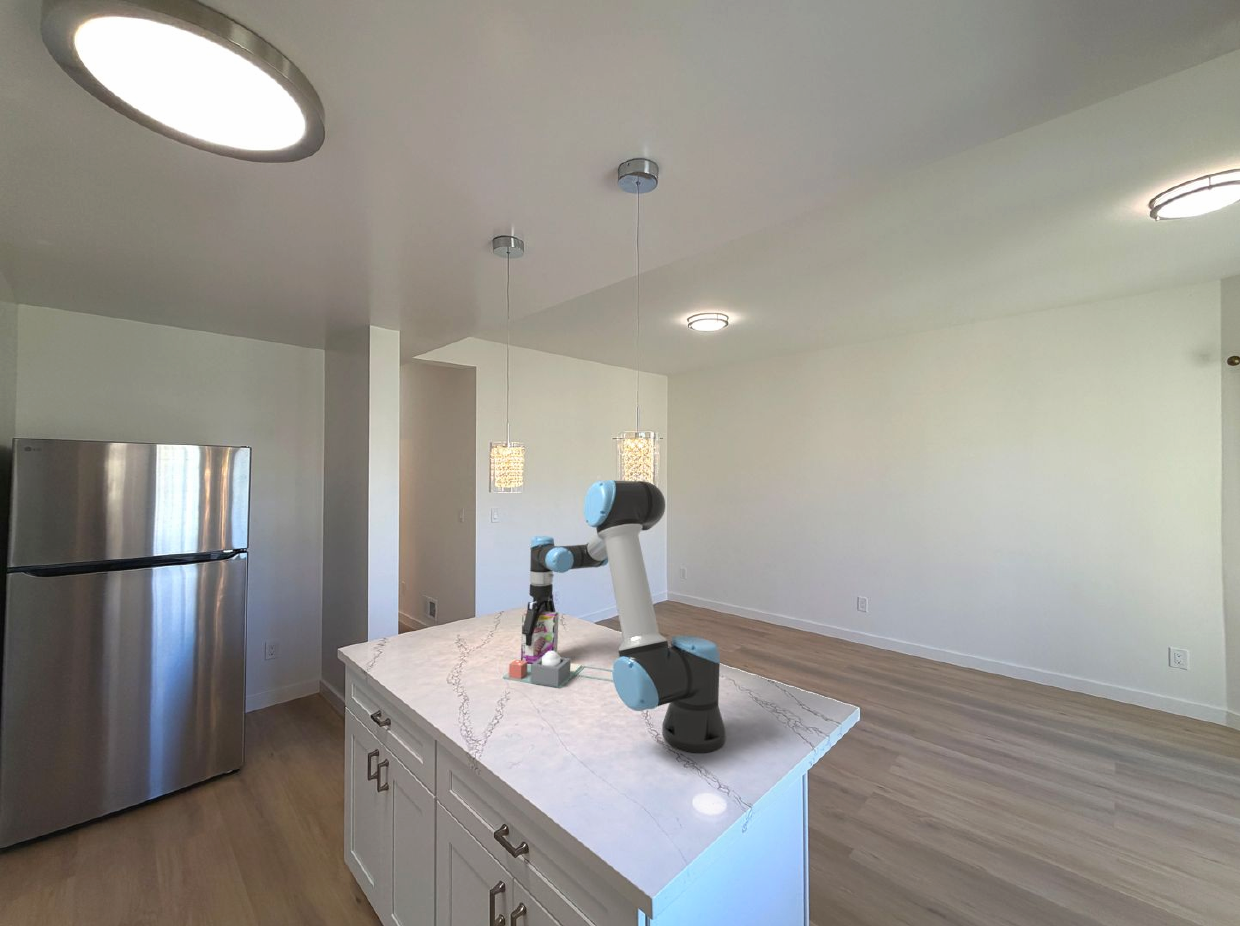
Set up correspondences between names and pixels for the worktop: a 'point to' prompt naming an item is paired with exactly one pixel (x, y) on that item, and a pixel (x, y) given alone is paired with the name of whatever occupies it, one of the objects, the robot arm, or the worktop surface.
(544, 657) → the dome plunger
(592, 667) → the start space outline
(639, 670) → the robot arm
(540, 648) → the candy bar box
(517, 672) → the game board
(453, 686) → the worktop surface
